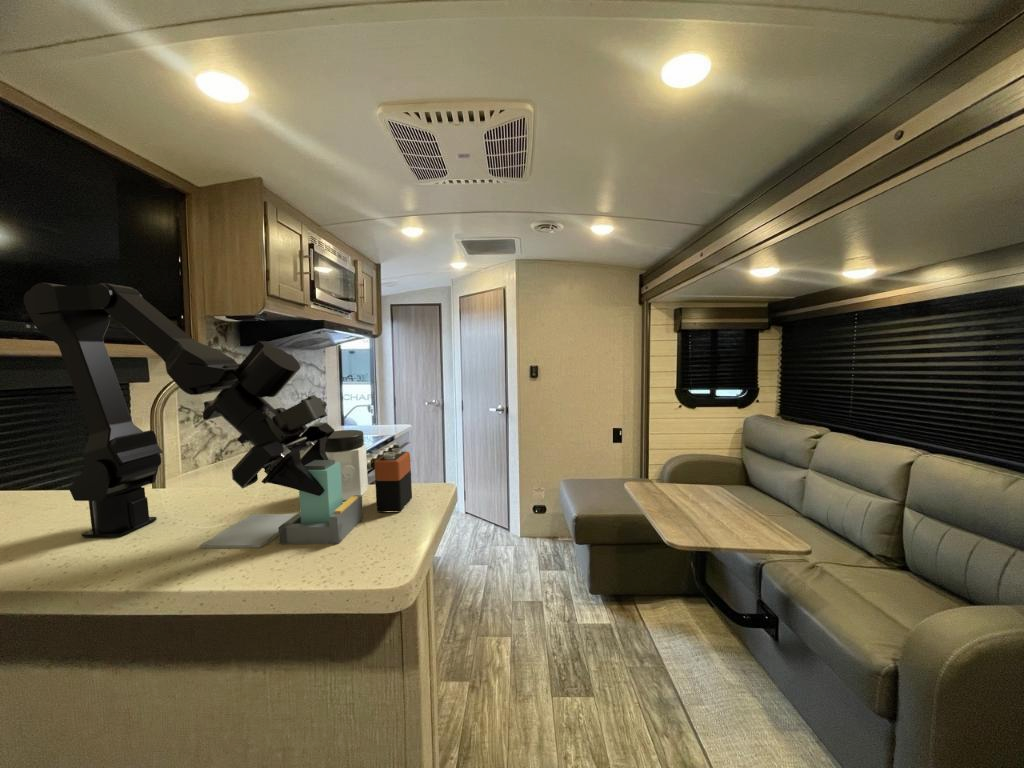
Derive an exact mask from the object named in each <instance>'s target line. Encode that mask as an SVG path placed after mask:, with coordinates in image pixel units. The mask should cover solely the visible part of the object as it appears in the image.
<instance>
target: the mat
mask: <svg viewBox="0 0 1024 768" xmlns="http://www.w3.org/2000/svg"><path fill="white" fill-rule="evenodd" d="M296 514H297V513H253V514H252V513H251V514H249V515H247V516H245V517H244V518H242V519H241V520H239V521H237V522H236V523H234V524H232V525H230V526H229V527H227V528H226V529H224V530H222V531H220V532H219V533H217V534H216V535H213V536H212V537H211V538H209V539H207V540H206V541H204V542H203V543H201V544H199V548H200V549H209V548H210V549H217V548H218V549H221V548H223V549H225V548H226V549H227V548H228V549H229V548H231V549H232V548H233V549H241V548H247V549H248V548H249V549H250V548H252V549H253V548H256V549H258V548H262V547H263V546H265V545H266V544H267V543H269V542H271V540H273V539H274V538H275V537H277V536H279V531H278V527H279V526H281V525H282V524H284V523H285V522H286V521H288V520H289V519H291V518H292V517H293V516H295V515H296Z"/></svg>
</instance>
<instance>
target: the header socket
mask: <svg viewBox="0 0 1024 768" xmlns="http://www.w3.org/2000/svg"><path fill="white" fill-rule="evenodd" d="M342 503H343V504H342V505H341V506H340V507H338V508H337V509H336V510H335V511H334V513H333V514H332V515H331V516H330V517H329V523H324V524H301V513H300V511H299V512H298V513H295V514H296V515H295V516H293V517H292V518H291V519H289V520H288V521H286V522H285V523H284V524H282V525H281V526H279V527H278V531H279V534H278V542H279V545H285V544H286V545H293V544H294V545H300V544H301V545H303V544H305V545H306V544H307V545H308V544H309V545H311V544H313V545H318V544H320V545H323V544H324V545H325V544H326V545H327V544H331V545H333V544H335V545H336V544H340V543H341V542H342V541H343V539H345V538H346V537H347V536H348V535H349V534H350V533H351V531H352V530H354V528H355V527H356V526H357V525H358V524H359V523H360V522H362V520H363V519H364V512H363V511H364V508H363V495H354V496H351V497H350V498H349V499H348V500H345V501H343V502H342ZM362 518H363V519H362ZM361 519H362V520H361ZM358 522H359V523H358ZM347 534H348V535H347Z"/></svg>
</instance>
